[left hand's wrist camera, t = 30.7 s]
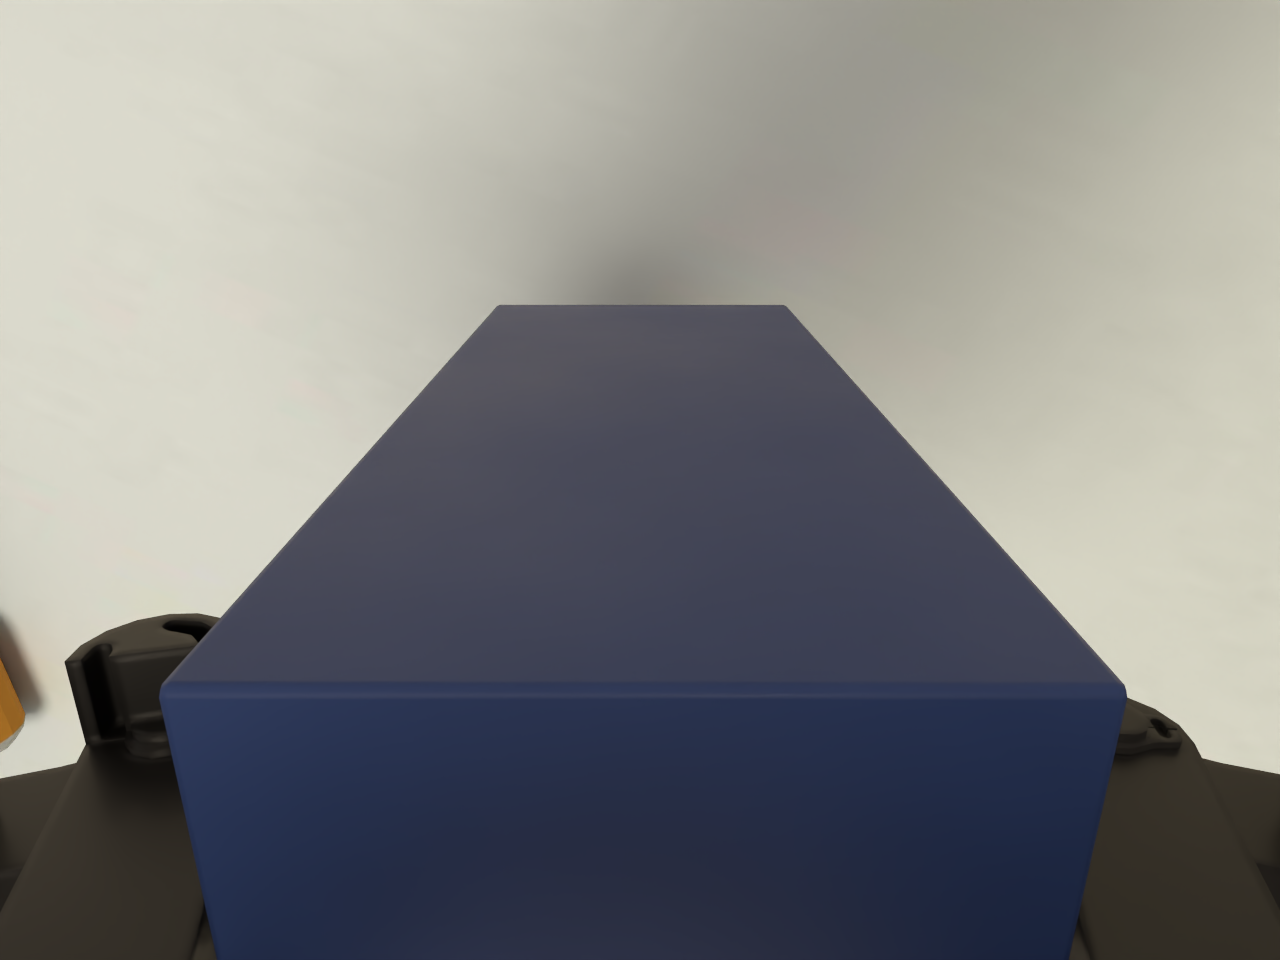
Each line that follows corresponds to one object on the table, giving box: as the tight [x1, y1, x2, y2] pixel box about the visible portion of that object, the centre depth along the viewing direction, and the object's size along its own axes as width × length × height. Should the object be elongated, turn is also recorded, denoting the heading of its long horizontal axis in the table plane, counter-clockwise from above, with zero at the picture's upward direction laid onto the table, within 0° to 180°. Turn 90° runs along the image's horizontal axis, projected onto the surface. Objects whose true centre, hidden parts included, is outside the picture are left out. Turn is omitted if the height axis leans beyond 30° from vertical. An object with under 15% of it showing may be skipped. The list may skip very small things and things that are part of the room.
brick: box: [159, 305, 1127, 960], centre depth 11 cm, size 5×6×12 cm
